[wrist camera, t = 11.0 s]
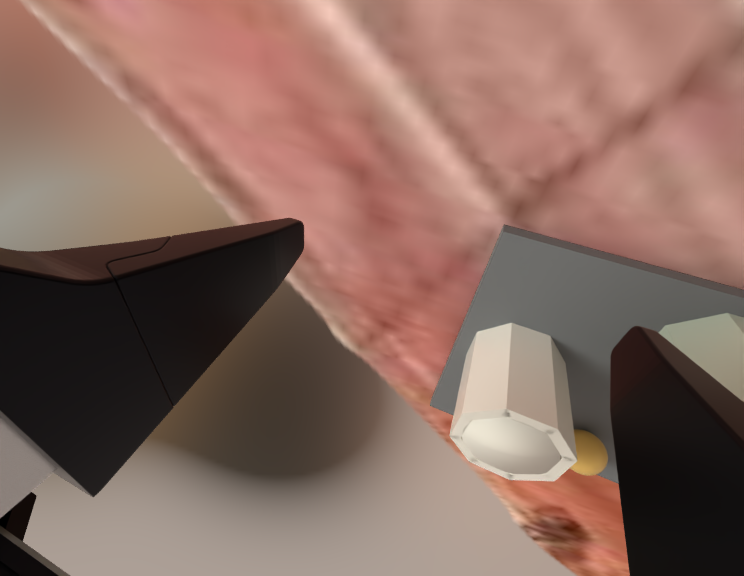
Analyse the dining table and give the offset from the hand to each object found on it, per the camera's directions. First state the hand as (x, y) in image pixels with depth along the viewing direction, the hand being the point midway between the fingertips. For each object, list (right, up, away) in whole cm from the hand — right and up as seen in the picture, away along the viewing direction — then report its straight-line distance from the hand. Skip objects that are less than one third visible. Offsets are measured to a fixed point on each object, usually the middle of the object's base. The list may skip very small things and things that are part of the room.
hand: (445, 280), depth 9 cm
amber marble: (+13, -12, +15) cm, 23 cm away
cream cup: (+8, -5, +14) cm, 17 cm away
